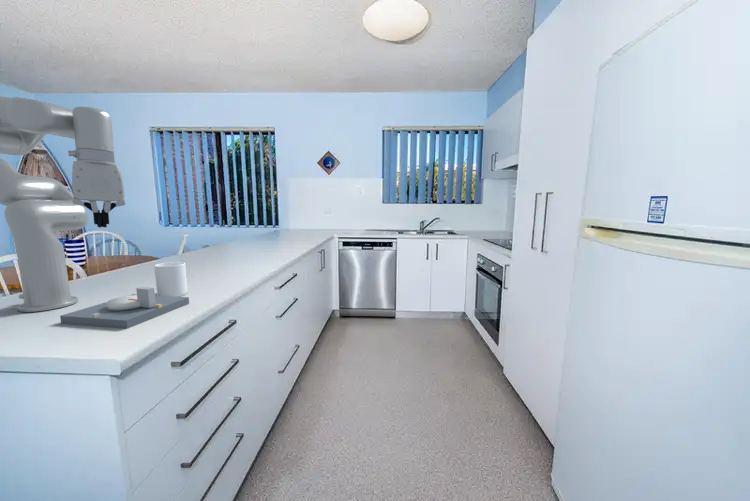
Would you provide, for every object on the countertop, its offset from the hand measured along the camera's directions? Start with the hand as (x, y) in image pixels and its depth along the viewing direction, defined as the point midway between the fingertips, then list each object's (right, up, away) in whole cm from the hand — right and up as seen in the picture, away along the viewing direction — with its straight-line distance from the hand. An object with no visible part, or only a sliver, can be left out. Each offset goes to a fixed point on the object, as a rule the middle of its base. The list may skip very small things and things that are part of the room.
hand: (102, 226), depth 84 cm
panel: (+6, -24, +3) cm, 25 cm away
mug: (+5, -22, +21) cm, 30 cm away
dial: (+7, -22, +2) cm, 23 cm away
